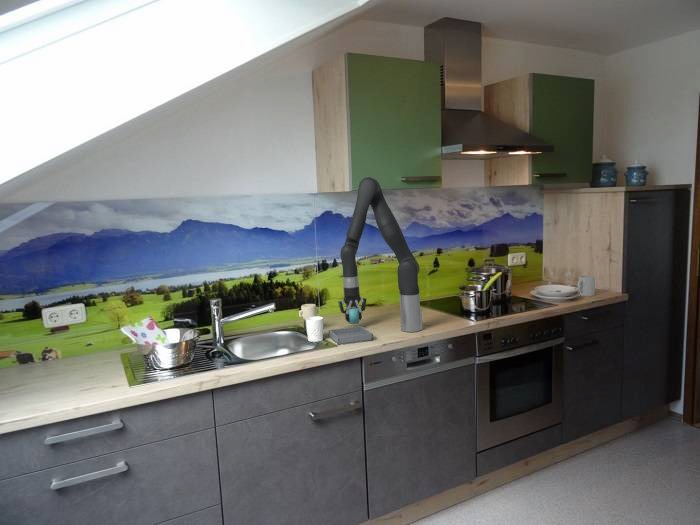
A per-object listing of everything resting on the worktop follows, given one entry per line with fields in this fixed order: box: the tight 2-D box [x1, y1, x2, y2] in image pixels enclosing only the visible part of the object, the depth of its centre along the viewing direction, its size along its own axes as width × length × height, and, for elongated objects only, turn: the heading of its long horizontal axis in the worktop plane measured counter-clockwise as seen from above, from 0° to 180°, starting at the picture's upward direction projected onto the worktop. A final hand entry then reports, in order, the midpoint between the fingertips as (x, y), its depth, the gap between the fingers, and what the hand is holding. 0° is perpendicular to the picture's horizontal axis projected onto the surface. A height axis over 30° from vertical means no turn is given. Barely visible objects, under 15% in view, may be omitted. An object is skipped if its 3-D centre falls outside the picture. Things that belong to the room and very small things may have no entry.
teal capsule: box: [348, 307, 360, 325], centre depth 243 cm, size 5×5×7 cm
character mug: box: [298, 303, 320, 333], centre depth 243 cm, size 11×7×13 cm, turn 127°
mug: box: [577, 275, 596, 297], centre depth 296 cm, size 12×8×11 cm
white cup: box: [306, 315, 324, 343], centre depth 228 cm, size 8×8×10 cm
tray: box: [328, 325, 374, 346], centre depth 228 cm, size 16×16×3 cm
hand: (353, 320), depth 243 cm, fingers closed on teal capsule, 5 cm apart
